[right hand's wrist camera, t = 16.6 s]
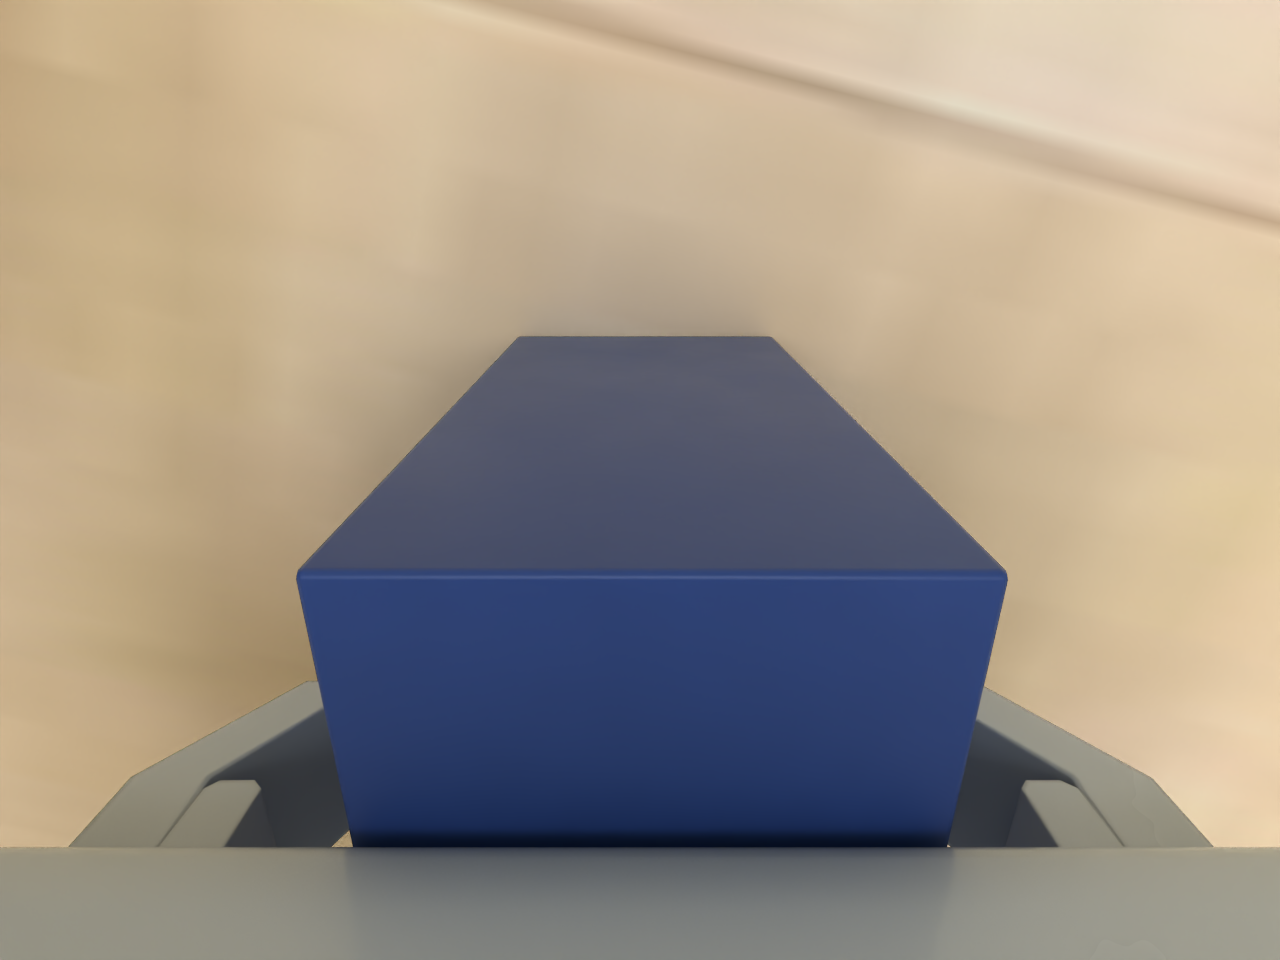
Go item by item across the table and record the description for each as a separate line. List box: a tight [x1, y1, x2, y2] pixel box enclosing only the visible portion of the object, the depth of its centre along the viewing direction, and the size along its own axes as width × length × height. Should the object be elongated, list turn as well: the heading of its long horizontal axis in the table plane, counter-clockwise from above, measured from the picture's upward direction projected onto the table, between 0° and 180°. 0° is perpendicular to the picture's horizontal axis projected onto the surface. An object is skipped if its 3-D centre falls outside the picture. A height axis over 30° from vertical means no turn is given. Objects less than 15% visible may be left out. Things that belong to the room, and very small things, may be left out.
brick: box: [296, 337, 1008, 847], centre depth 10 cm, size 5×8×9 cm, turn 0°
